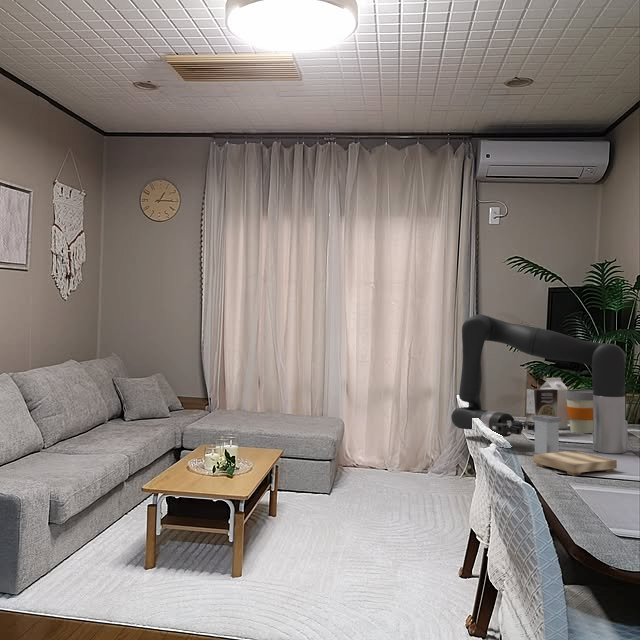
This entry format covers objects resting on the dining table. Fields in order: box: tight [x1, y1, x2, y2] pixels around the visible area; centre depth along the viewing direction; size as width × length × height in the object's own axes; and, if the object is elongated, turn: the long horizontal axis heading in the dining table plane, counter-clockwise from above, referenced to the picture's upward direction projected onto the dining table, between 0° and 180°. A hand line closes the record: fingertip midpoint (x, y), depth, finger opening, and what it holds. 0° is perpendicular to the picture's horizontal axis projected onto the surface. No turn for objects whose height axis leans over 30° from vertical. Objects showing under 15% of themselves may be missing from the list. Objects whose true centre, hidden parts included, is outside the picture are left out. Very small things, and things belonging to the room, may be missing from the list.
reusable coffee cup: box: [566, 388, 593, 434], centre depth 251 cm, size 13×13×15 cm
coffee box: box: [525, 388, 558, 436], centre depth 247 cm, size 9×6×16 cm
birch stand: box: [533, 450, 618, 477], centre depth 187 cm, size 15×15×3 cm
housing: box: [531, 415, 561, 457], centre depth 202 cm, size 4×7×12 cm, turn 24°
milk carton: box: [539, 377, 569, 430], centre depth 261 cm, size 7×7×19 cm
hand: (531, 430), depth 208 cm, fingers open, 8 cm apart
